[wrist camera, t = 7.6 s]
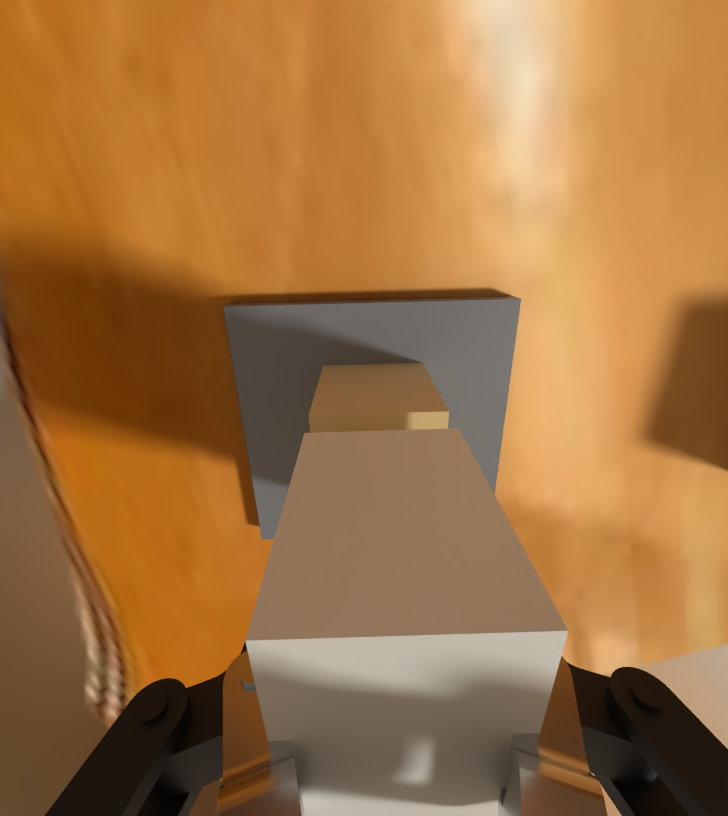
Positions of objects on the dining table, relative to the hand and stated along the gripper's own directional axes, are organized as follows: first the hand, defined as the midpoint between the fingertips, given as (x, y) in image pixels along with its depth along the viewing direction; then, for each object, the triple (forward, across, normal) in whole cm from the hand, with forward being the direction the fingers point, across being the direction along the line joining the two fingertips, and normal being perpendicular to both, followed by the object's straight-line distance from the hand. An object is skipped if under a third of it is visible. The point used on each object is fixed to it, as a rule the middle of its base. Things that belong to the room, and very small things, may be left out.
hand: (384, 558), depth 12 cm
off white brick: (+2, 0, 0) cm, 2 cm away
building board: (+10, 0, 0) cm, 10 cm away
